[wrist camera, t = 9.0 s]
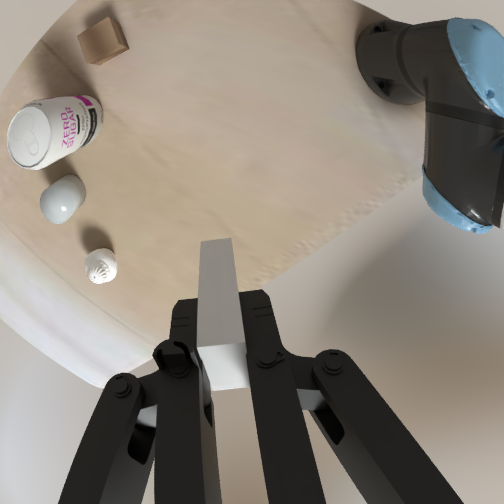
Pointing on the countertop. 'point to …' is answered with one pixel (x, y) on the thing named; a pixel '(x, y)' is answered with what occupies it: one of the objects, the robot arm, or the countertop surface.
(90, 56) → the walnut block
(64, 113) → the supplement can
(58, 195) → the white rounded cylinder
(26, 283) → the countertop surface
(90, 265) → the white ribbed rounded piece
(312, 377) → the robot arm
